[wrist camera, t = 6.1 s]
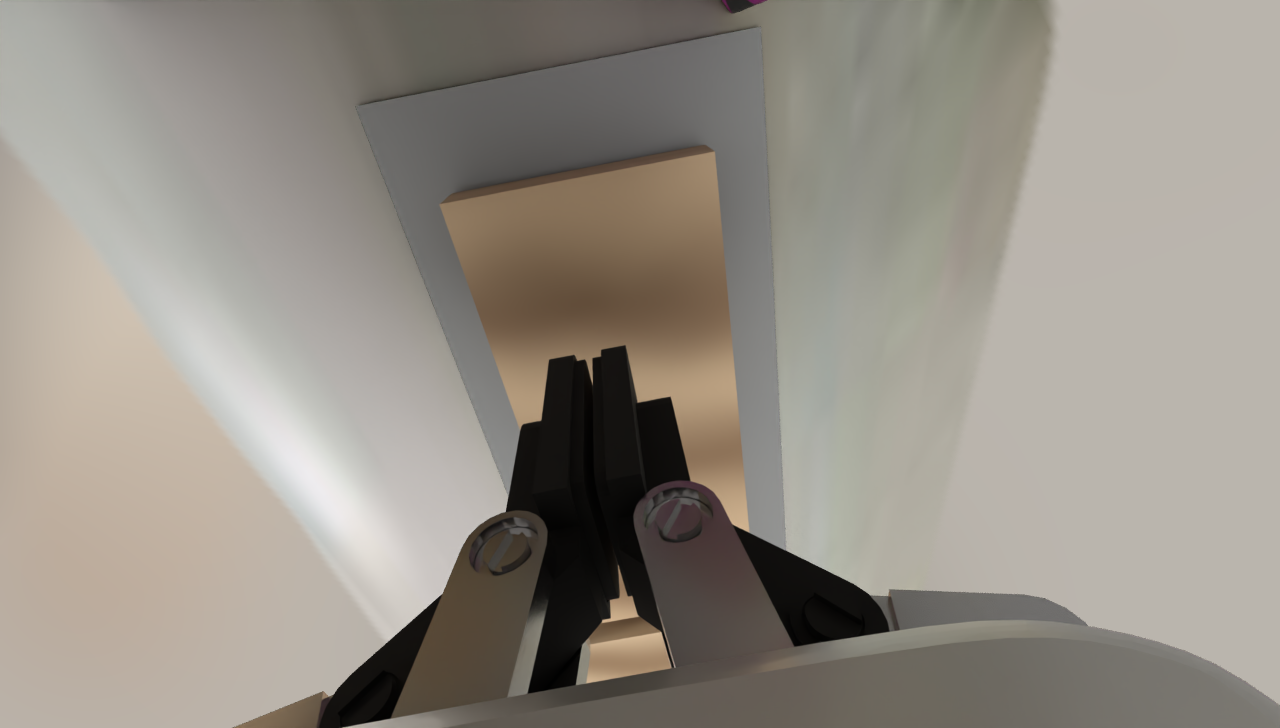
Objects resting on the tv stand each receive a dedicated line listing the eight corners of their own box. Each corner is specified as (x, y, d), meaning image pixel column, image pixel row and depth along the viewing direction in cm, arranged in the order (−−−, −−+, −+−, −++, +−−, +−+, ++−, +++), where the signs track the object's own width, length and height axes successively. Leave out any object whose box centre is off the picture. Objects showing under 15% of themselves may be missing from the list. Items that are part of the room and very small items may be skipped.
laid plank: (567, 620, 27) (566, 648, 26) (778, 583, 27) (787, 609, 25) (583, 661, 29) (582, 689, 27) (780, 627, 28) (789, 653, 27)
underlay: (359, 106, 15) (355, 106, 15) (758, 27, 15) (761, 26, 15) (574, 658, 29) (574, 664, 29) (788, 621, 29) (789, 626, 29)
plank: (451, 193, 16) (439, 204, 15) (705, 144, 16) (714, 151, 15) (593, 607, 27) (593, 635, 25) (748, 580, 26) (756, 606, 25)
